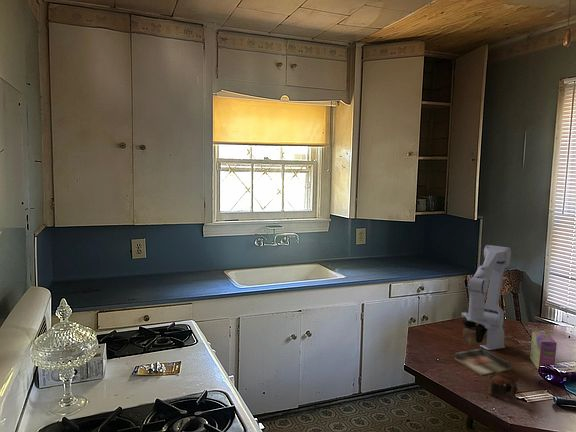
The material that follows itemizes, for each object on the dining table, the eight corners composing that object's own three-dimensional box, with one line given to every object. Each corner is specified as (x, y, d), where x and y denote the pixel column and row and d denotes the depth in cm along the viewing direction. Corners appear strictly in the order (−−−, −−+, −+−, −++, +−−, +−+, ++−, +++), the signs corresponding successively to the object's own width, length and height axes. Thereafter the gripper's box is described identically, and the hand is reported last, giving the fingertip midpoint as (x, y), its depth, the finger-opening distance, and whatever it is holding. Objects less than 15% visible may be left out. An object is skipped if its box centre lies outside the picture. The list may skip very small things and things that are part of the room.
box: (554, 372, 174) (557, 342, 172) (538, 370, 175) (540, 341, 173) (545, 360, 184) (547, 332, 182) (529, 359, 185) (531, 331, 183)
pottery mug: (479, 390, 160) (486, 368, 162) (501, 400, 162) (508, 378, 164) (503, 399, 149) (510, 374, 150) (526, 409, 150) (533, 385, 152)
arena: (481, 354, 189) (482, 348, 189) (510, 369, 175) (510, 363, 175) (454, 358, 185) (454, 352, 184) (481, 375, 171) (481, 368, 170)
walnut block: (462, 342, 184) (463, 328, 183) (478, 340, 187) (479, 326, 186) (470, 347, 180) (471, 332, 179) (486, 344, 182) (487, 330, 182)
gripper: (456, 302, 187) (454, 334, 189) (481, 313, 173) (479, 347, 175) (470, 301, 189) (468, 332, 191) (496, 312, 176) (494, 345, 177)
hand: (474, 339), depth 183 cm, fingers closed on walnut block, 4 cm apart
